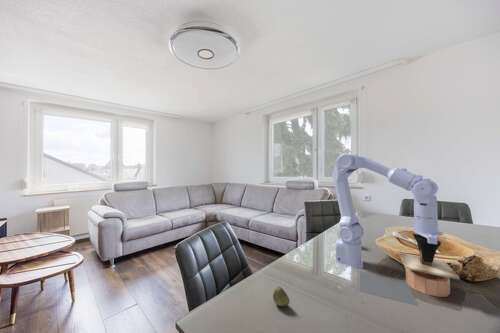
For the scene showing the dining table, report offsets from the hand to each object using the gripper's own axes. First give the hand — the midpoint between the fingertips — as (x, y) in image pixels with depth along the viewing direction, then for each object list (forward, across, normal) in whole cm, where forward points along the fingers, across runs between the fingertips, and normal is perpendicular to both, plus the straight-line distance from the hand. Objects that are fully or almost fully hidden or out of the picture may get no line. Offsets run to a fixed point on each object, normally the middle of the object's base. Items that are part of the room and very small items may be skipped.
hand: (426, 259), depth 64 cm
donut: (+9, +30, +26) cm, 41 cm away
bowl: (+9, 0, 0) cm, 9 cm away
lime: (+9, -30, +38) cm, 49 cm away
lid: (+2, 0, 0) cm, 2 cm away
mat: (+9, -6, +12) cm, 16 cm away
